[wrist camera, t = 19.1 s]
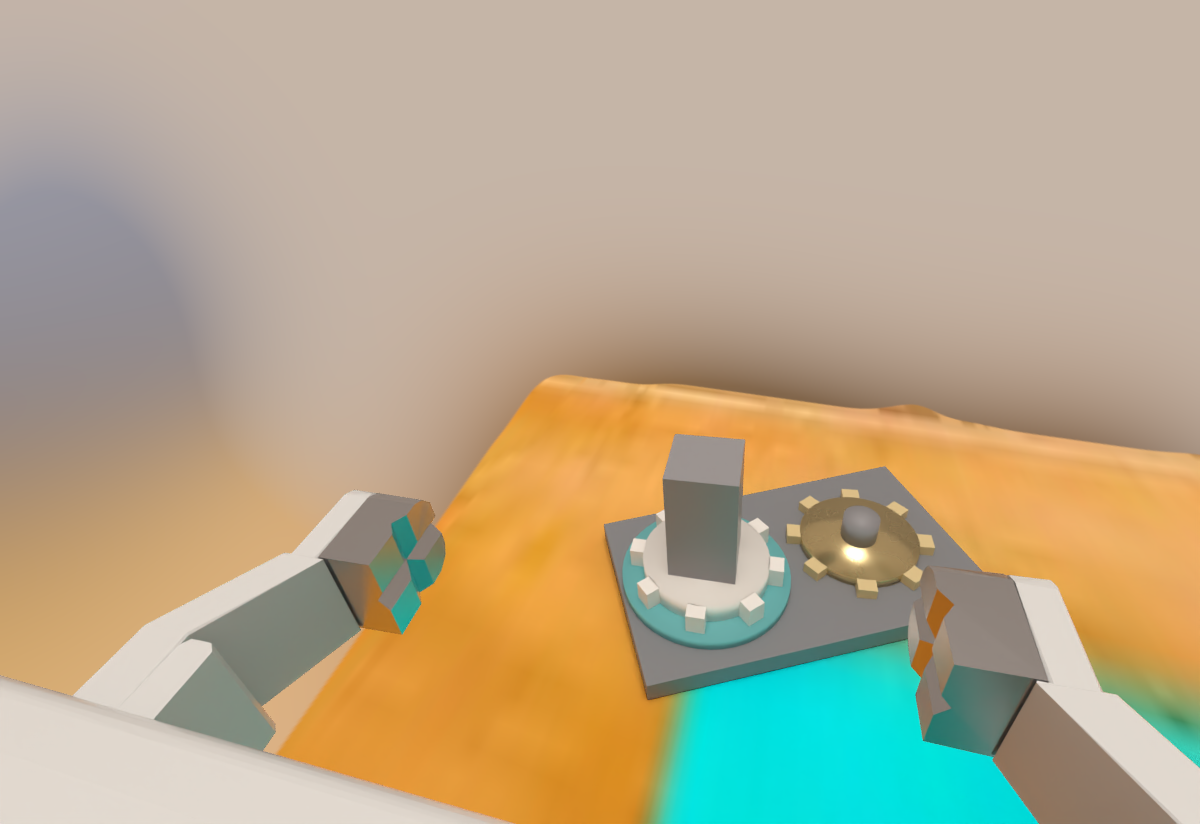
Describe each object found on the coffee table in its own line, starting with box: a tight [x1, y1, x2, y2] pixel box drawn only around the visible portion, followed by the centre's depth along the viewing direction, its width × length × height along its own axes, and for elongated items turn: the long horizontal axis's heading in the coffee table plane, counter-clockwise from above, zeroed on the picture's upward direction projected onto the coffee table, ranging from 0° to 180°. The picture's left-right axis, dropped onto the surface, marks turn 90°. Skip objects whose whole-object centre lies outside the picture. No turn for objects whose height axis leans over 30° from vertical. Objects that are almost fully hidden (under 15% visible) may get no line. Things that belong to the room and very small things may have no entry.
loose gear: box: [630, 434, 784, 634], centre depth 39 cm, size 10×10×10 cm
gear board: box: [604, 467, 982, 700], centre depth 42 cm, size 24×14×4 cm, turn 100°
